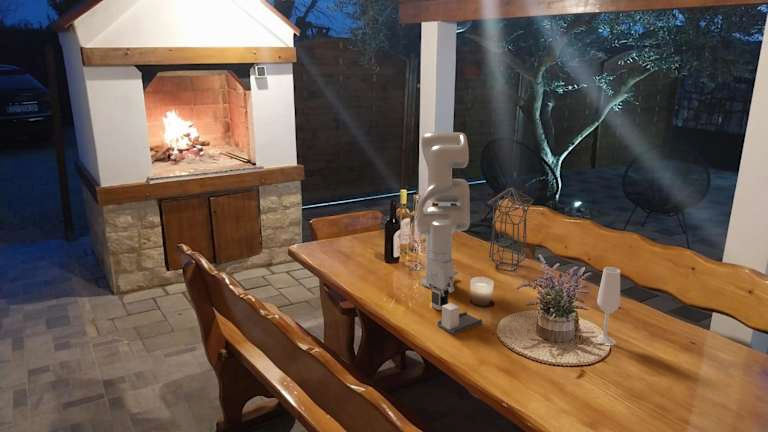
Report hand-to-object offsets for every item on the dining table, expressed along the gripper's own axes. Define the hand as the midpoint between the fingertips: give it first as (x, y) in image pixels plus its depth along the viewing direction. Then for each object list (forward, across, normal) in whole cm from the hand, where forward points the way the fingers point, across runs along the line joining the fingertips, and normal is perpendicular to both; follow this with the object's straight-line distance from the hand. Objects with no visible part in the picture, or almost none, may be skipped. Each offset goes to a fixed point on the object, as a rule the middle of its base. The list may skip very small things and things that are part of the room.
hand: (439, 302), depth 208 cm
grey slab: (+2, +14, -4) cm, 15 cm away
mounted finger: (+1, +14, -8) cm, 16 cm away
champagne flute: (+2, +50, +25) cm, 56 cm away
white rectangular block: (+2, 0, 0) cm, 2 cm away
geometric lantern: (+3, -13, +50) cm, 51 cm away
